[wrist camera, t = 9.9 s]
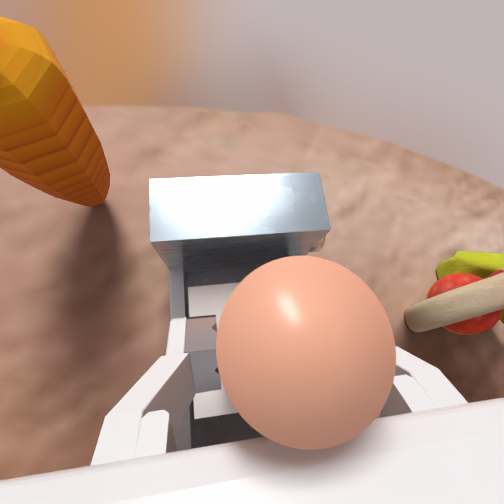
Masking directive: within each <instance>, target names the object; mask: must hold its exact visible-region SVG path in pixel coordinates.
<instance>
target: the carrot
mask: <svg viewBox="0 0 504 504" xmlns="http://www.w3.org/2000/svg"><path fill="white" fill-rule="evenodd" d="M0 168H2V169H3V170H5V171H6V172H8V173H9V174H10V175H12V176H14V177H16V178H18V179H19V180H21V181H23V182H25V183H27V184H29V185H31V186H33V187H35V188H37V189H39V190H41V191H43V192H45V193H47V194H49V195H52V196H54V197H57V198H60V199H63V200H67V201H70V202H74V203H77V204H81V205H85V206H98V205H100V204H102V203H104V201H105V199H106V196H107V193H108V190H109V186H110V173H109V169H108V165H107V161H106V158H105V155H104V152H103V149H102V146H101V143H100V141H99V139H98V137H97V135H96V133H95V131H94V129H93V127H92V125H91V123H90V121H89V119H88V117H87V115H86V113H85V111H84V109H83V107H82V105H81V103H80V101H79V99H78V97H77V95H76V93H75V91H74V89H73V87H72V86H71V84H70V82H69V80H68V78H67V76H66V75H65V73H64V71H63V69H62V67H61V65H60V63H59V62H58V60H57V58H56V56H55V54H54V52H53V51H52V49H51V47H50V45H49V44H48V42H47V41H46V39H45V38H44V37H43V36H42V35H41V34H40V33H39V32H38V31H37V29H35V28H34V27H30V26H28V25H26V24H23V23H20V22H17V21H13V20H10V19H7V18H4V17H0Z"/></svg>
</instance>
